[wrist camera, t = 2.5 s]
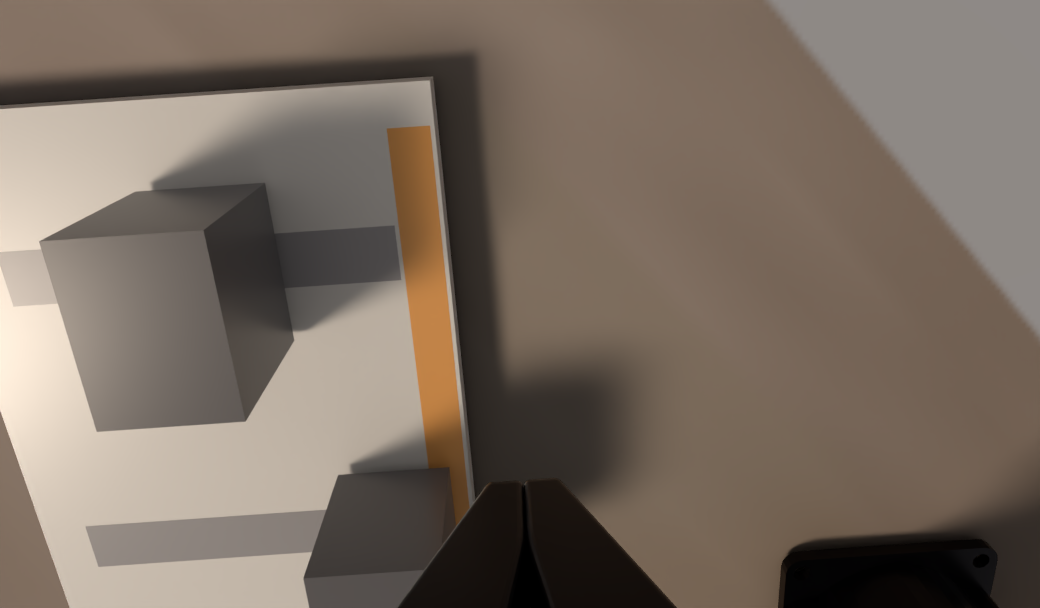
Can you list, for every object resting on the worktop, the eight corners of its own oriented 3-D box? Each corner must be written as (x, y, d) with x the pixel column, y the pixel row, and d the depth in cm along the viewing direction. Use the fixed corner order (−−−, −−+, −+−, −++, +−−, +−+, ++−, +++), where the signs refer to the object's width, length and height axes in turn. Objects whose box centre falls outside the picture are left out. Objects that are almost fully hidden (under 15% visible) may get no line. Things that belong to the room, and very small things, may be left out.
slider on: (449, 467, 21) (439, 569, 17) (462, 585, 22) (455, 703, 18) (337, 474, 21) (303, 578, 17) (358, 592, 22) (330, 711, 18)
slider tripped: (264, 182, 18) (203, 230, 14) (294, 340, 19) (245, 421, 15) (135, 191, 18) (38, 241, 14) (174, 348, 19) (96, 432, 15)
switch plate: (433, 76, 18) (429, 80, 17) (485, 605, 24) (485, 630, 23) (-73, 110, 18) (-104, 116, 17) (103, 632, 24) (87, 657, 23)
